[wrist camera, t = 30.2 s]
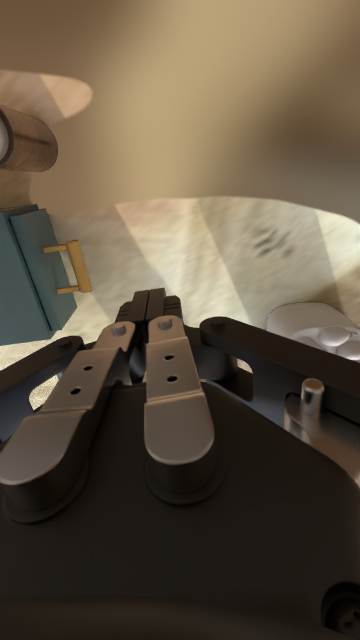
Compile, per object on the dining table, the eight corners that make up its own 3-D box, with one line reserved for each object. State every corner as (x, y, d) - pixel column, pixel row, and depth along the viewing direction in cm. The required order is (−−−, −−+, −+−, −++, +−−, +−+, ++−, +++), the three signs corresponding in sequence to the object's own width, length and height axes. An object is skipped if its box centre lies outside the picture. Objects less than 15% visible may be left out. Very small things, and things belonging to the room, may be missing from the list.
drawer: (79, 203, 35) (60, 209, 29) (106, 303, 41) (95, 325, 35) (-46, 221, 35) (-91, 231, 29) (-2, 318, 41) (-31, 342, 35)
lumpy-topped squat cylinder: (268, 303, 42) (290, 332, 35) (355, 300, 43) (397, 328, 35) (260, 362, 47) (279, 399, 39) (339, 359, 47) (373, 395, 40)
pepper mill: (49, 114, 31) (-34, 71, 19) (64, 168, 34) (-1, 162, 21) (2, 121, 32) (-112, 84, 19) (20, 174, 34) (-70, 173, 21)
